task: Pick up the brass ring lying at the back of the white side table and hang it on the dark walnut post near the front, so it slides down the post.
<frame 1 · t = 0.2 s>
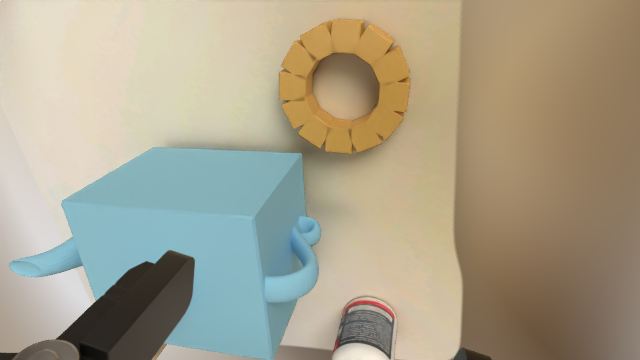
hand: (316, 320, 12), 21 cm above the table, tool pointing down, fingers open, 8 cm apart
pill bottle: (370, 315, 39), on the table
teapot: (225, 198, 37), on the table
ring: (346, 85, 30), on the table
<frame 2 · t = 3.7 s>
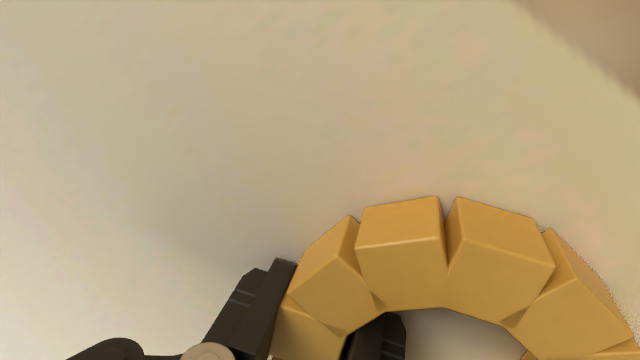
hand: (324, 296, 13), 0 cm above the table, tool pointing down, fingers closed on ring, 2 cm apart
ring: (434, 330, 12), on the table, touching gripper
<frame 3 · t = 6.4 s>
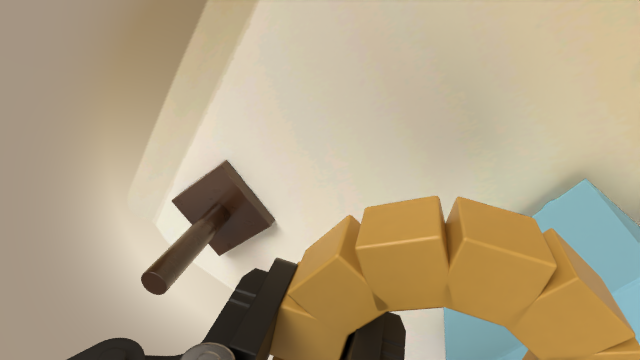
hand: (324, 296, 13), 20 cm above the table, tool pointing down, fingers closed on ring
post: (225, 207, 38), on the table
teapot: (534, 276, 33), on the table
ring: (435, 330, 12), point 20 cm above the table, touching gripper
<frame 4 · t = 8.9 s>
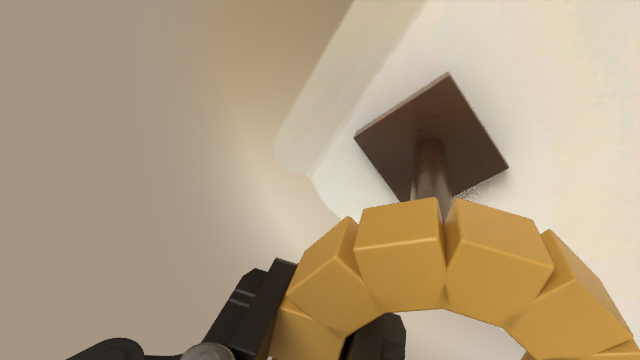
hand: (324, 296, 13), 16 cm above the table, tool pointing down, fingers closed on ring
post: (428, 146, 27), on the table
ring: (433, 331, 12), point 16 cm above the table, touching gripper
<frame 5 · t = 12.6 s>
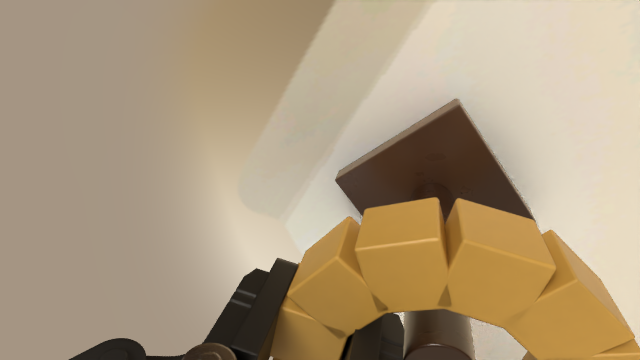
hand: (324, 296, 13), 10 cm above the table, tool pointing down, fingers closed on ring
post: (431, 190, 21), on the table
ring: (434, 331, 12), point 10 cm above the table, touching gripper
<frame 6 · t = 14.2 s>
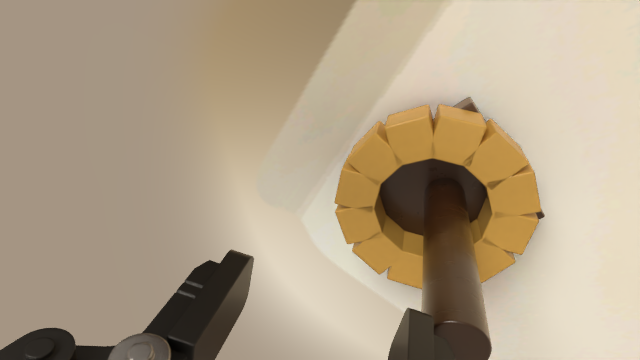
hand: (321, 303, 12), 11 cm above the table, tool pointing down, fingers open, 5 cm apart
post: (443, 185, 22), on the table
ring: (431, 193, 21), point 1 cm above the table, touching post
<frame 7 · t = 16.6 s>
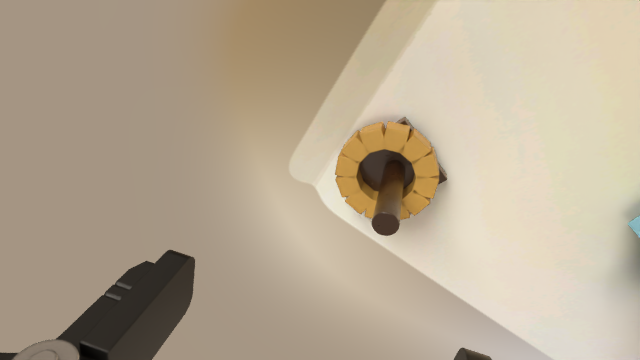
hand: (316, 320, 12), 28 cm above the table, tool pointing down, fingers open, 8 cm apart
post: (395, 164, 39), on the table
ring: (387, 168, 38), point 1 cm above the table, touching post
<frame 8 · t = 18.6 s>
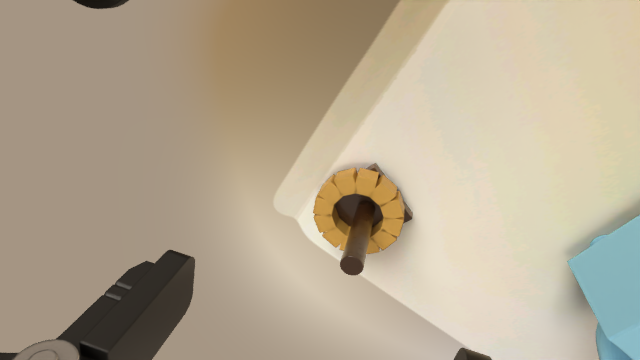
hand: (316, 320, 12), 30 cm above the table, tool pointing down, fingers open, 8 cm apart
post: (367, 203, 44), on the table
ring: (359, 207, 43), point 1 cm above the table, touching post
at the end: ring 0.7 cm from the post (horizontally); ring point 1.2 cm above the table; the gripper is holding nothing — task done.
